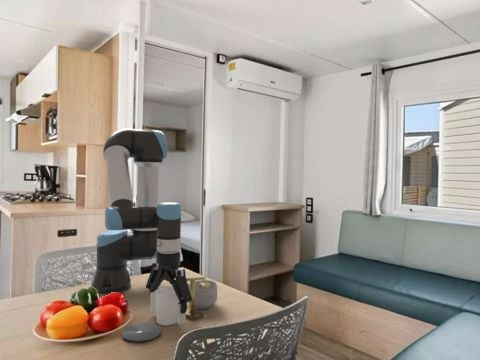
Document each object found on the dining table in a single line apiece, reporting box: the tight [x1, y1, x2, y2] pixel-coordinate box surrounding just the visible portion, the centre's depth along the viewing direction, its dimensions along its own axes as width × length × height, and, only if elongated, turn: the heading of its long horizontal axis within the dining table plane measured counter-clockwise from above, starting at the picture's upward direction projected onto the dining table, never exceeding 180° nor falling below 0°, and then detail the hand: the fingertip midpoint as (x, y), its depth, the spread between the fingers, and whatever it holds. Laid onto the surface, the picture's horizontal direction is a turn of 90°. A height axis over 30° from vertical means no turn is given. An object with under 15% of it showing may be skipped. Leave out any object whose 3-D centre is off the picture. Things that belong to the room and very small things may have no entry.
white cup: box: [155, 286, 179, 326], centre depth 116 cm, size 8×8×10 cm
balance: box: [186, 275, 210, 322], centre depth 120 cm, size 15×4×14 cm, turn 50°
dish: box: [121, 322, 162, 343], centre depth 107 cm, size 11×11×1 cm
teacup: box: [188, 278, 218, 310], centre depth 131 cm, size 14×11×8 cm
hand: (167, 316), depth 116 cm, fingers open, 13 cm apart
